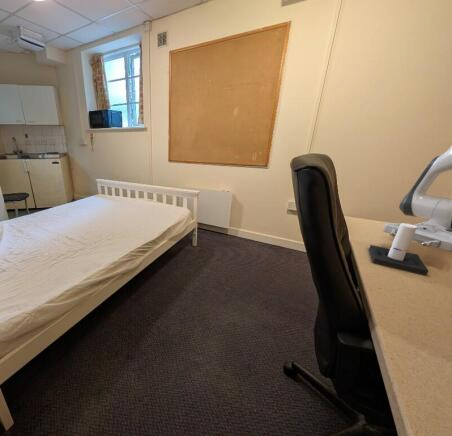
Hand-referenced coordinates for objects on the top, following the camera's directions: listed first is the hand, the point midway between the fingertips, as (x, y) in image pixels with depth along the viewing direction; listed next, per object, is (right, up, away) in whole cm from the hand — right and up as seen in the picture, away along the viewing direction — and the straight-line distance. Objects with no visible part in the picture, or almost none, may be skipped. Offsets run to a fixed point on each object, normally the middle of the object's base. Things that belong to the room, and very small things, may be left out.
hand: (408, 238), depth 84 cm
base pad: (-3, -9, +2) cm, 10 cm away
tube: (-3, -9, +2) cm, 10 cm away
